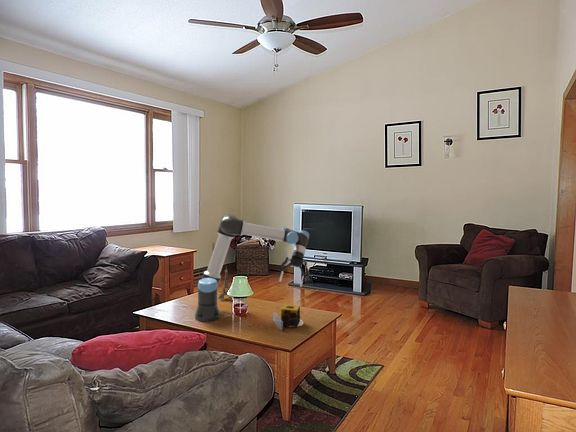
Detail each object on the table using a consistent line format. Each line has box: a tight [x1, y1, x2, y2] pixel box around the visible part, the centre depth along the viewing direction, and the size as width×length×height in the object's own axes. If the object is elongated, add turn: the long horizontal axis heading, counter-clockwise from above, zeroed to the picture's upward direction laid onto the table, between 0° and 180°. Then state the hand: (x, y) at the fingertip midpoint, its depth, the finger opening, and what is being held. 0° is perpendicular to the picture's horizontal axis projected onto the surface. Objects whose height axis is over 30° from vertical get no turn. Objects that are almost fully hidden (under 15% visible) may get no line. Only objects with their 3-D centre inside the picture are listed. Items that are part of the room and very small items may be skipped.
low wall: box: [272, 311, 284, 331], centre depth 236 cm, size 1×18×5 cm, turn 16°
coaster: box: [286, 319, 305, 328], centre depth 240 cm, size 14×14×1 cm
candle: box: [280, 304, 301, 328], centre depth 237 cm, size 10×10×10 cm
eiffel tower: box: [217, 264, 233, 303], centre depth 286 cm, size 11×11×25 cm
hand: (290, 283), depth 252 cm, fingers open, 13 cm apart
